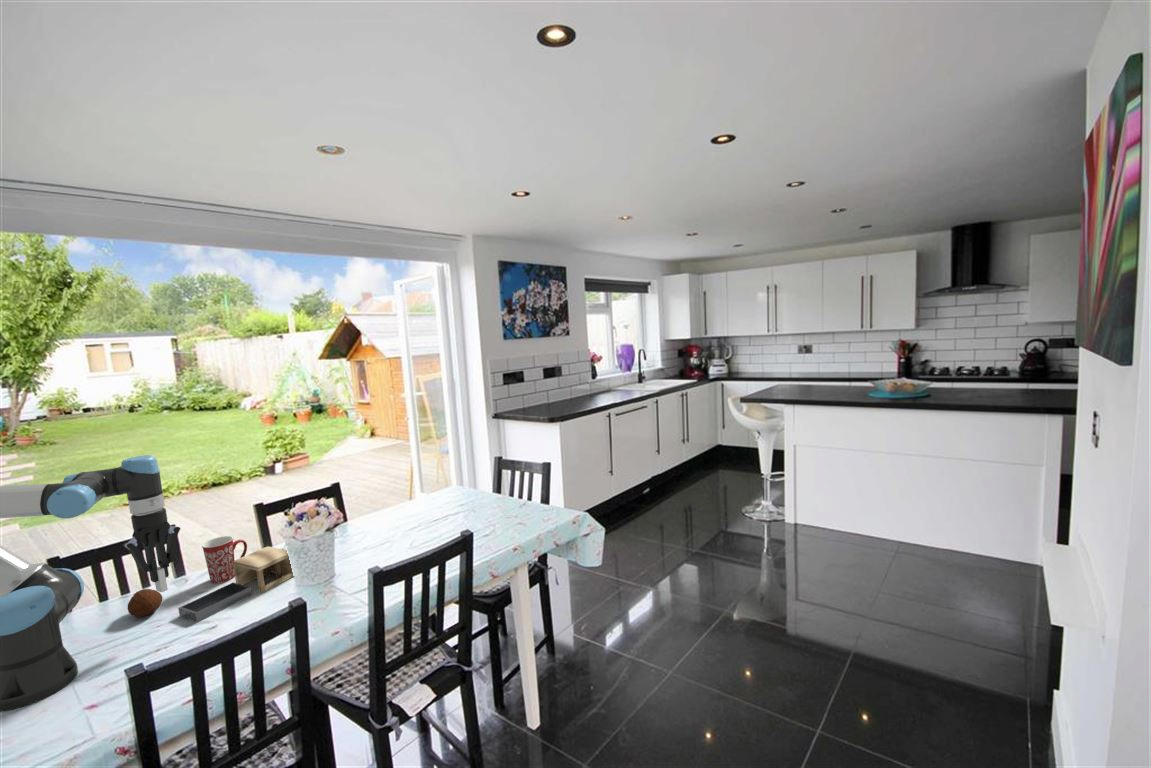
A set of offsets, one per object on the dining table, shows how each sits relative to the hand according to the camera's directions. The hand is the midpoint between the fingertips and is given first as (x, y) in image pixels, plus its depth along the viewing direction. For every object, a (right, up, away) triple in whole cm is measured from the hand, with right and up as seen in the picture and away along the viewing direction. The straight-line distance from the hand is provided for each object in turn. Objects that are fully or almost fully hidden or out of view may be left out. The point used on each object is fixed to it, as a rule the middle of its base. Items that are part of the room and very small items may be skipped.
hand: (162, 590), depth 145 cm
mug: (-3, -9, +32) cm, 33 cm away
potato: (-14, -12, +11) cm, 21 cm away
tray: (+6, -10, +13) cm, 18 cm away
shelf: (+13, -8, +28) cm, 32 cm away
